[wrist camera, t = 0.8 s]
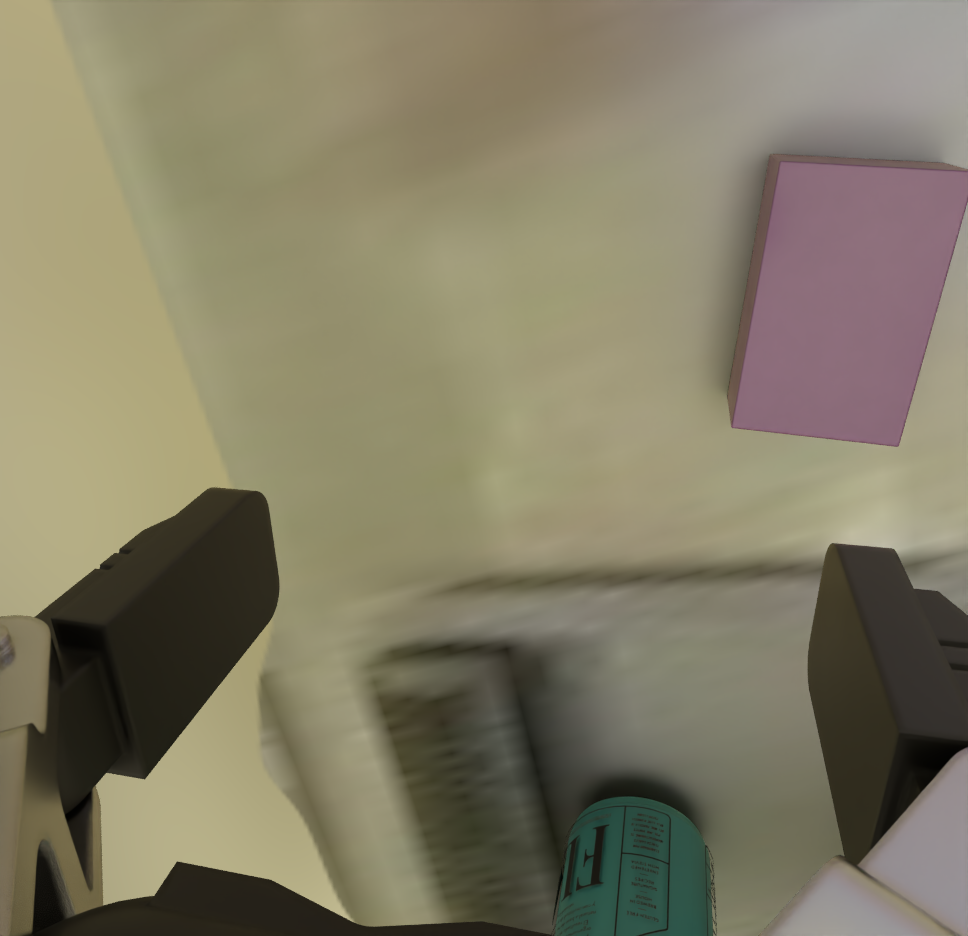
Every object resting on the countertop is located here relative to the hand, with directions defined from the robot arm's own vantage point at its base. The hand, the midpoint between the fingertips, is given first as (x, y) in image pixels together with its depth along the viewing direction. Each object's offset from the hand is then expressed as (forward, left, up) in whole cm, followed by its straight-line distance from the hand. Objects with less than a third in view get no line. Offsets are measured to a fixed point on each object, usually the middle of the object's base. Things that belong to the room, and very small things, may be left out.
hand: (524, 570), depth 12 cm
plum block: (-1, +7, -18) cm, 19 cm away
